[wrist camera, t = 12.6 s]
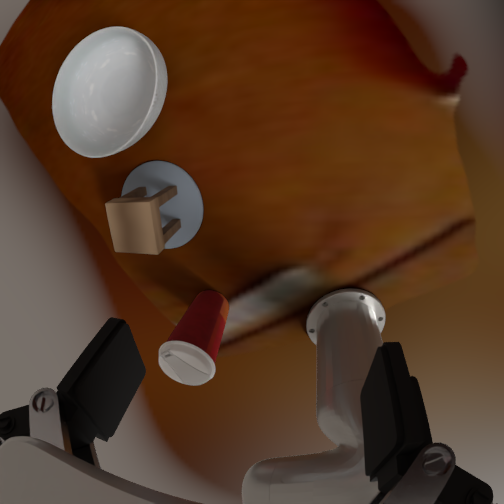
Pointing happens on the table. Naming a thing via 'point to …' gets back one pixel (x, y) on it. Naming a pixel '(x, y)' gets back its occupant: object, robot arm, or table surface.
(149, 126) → the cereal bowl
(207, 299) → the paper cup
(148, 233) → the stool
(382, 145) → the table surface
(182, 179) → the mat
